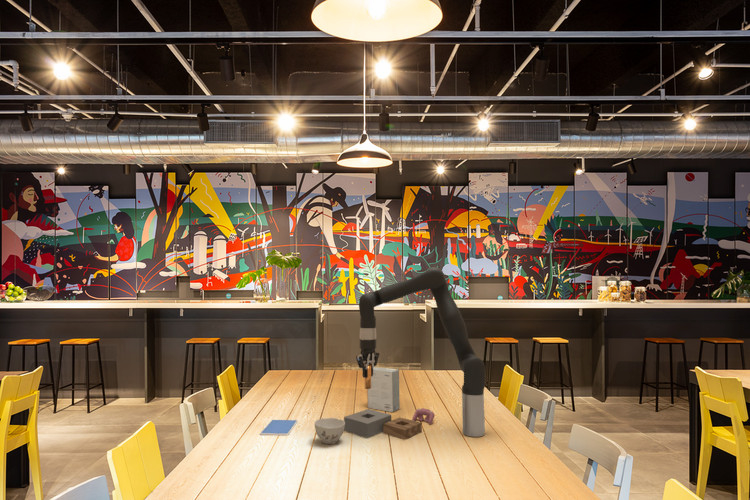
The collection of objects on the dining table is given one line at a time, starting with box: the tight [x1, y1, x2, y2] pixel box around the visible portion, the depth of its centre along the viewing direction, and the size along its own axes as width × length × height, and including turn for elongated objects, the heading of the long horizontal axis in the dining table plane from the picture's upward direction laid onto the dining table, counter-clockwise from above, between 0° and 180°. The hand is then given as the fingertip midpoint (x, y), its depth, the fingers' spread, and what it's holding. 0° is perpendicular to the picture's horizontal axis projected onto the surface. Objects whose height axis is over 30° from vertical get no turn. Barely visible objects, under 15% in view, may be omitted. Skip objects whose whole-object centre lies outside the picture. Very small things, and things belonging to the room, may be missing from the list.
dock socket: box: [343, 408, 392, 439], centre depth 196 cm, size 16×14×6 cm
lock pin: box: [364, 365, 371, 390], centre depth 197 cm, size 3×3×10 cm
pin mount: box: [382, 416, 423, 440], centre depth 192 cm, size 12×12×4 cm
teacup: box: [314, 417, 345, 445], centre depth 183 cm, size 15×12×8 cm
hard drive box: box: [367, 366, 401, 413], centre depth 229 cm, size 16×8×20 cm, turn 58°
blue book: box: [259, 419, 298, 437], centre depth 199 cm, size 19×13×1 cm, turn 177°
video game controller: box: [411, 407, 435, 426], centre depth 207 cm, size 10×5×7 cm, turn 59°
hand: (367, 376), depth 197 cm, fingers closed on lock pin, 3 cm apart
